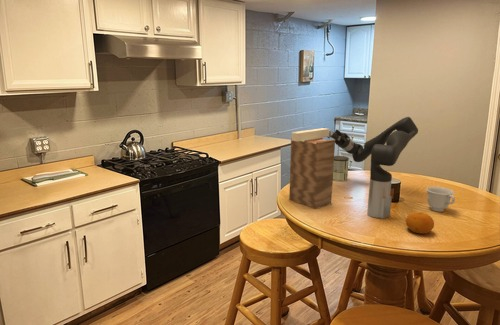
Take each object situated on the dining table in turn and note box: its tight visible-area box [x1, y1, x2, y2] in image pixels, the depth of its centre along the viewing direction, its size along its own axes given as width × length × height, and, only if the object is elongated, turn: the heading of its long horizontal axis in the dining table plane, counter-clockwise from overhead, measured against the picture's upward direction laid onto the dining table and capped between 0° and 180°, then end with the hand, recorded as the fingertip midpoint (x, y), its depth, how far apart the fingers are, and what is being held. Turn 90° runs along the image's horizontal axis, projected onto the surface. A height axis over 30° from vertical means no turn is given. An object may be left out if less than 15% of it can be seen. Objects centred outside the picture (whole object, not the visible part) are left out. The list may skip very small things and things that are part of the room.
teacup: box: [425, 186, 456, 213], centre depth 172 cm, size 12×15×10 cm
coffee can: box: [333, 155, 350, 183], centre depth 223 cm, size 10×10×14 cm
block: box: [291, 127, 330, 142], centre depth 182 cm, size 4×24×4 cm, turn 129°
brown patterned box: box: [288, 137, 336, 210], centre depth 181 cm, size 18×12×33 cm, turn 39°
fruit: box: [405, 212, 435, 235], centre depth 149 cm, size 10×10×8 cm
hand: (329, 130), depth 192 cm, fingers open, 8 cm apart
